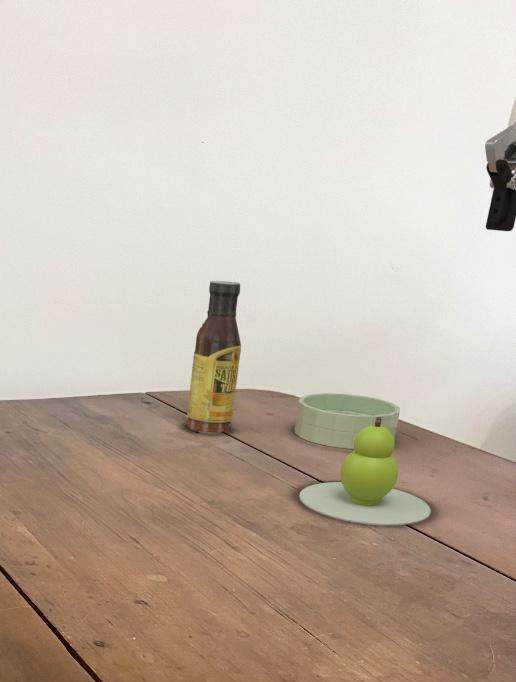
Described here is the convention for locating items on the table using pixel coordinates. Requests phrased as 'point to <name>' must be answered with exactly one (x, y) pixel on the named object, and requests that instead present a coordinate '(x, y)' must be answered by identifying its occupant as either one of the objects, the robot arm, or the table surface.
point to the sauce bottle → (215, 362)
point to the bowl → (341, 417)
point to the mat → (387, 511)
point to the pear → (370, 466)
